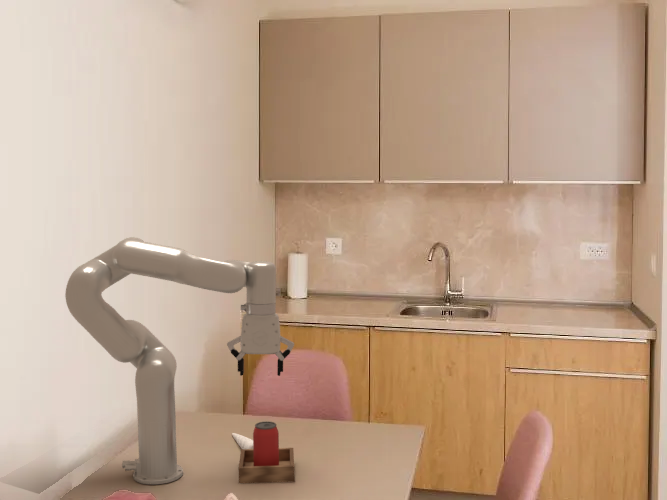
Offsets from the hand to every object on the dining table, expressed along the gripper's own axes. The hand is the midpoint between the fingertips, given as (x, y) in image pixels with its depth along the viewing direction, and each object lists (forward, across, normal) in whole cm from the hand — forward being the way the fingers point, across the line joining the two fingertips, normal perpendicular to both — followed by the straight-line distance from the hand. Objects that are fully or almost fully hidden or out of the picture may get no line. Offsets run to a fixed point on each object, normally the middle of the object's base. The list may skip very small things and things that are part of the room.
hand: (260, 374), depth 206 cm
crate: (+26, +2, -2) cm, 26 cm away
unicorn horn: (+26, -5, +18) cm, 32 cm away
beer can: (+25, +2, -2) cm, 25 cm away
